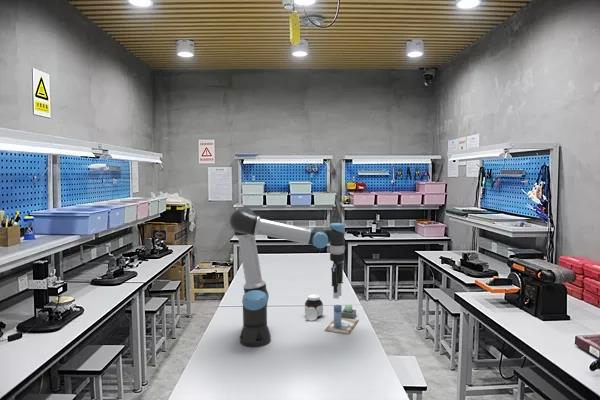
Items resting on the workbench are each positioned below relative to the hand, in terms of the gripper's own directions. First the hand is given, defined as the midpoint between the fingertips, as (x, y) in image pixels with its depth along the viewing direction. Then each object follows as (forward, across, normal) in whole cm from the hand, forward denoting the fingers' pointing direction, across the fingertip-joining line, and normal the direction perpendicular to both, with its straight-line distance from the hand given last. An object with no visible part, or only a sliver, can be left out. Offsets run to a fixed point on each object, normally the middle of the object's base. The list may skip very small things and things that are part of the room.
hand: (337, 296), depth 213 cm
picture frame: (+17, +4, -2) cm, 17 cm away
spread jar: (+17, +10, +17) cm, 26 cm away
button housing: (+17, +18, -1) cm, 25 cm away
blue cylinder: (+16, 0, 0) cm, 16 cm away
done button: (+15, +18, -1) cm, 23 cm away
